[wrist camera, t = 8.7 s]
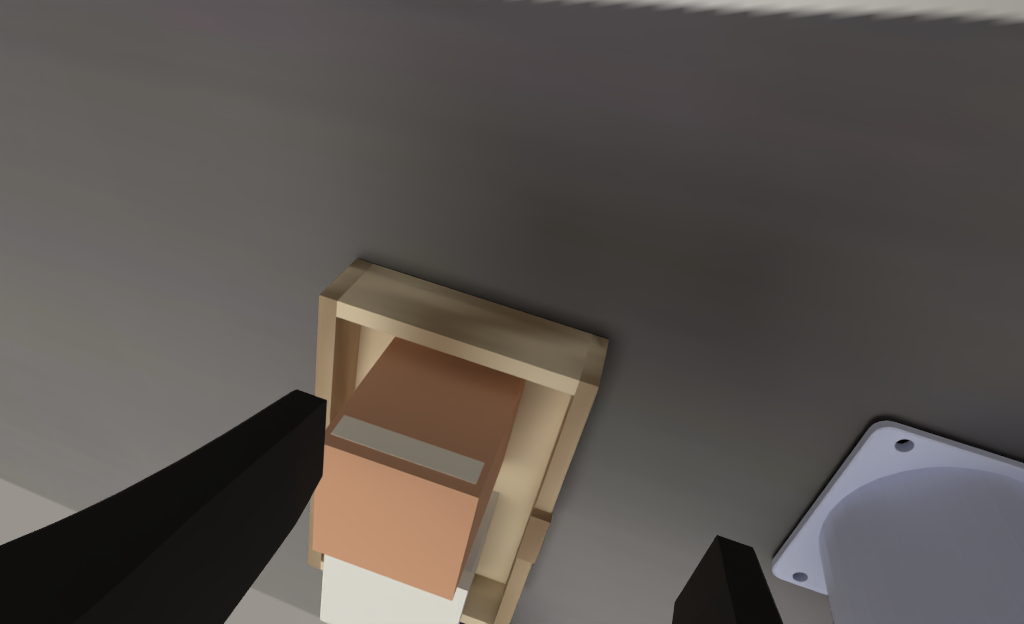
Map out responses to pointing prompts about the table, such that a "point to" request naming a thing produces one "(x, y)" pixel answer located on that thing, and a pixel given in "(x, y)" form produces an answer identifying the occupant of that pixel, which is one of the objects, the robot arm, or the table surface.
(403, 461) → the brown cardboard box
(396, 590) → the white foam cube
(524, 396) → the light wooden tray
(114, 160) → the table surface
